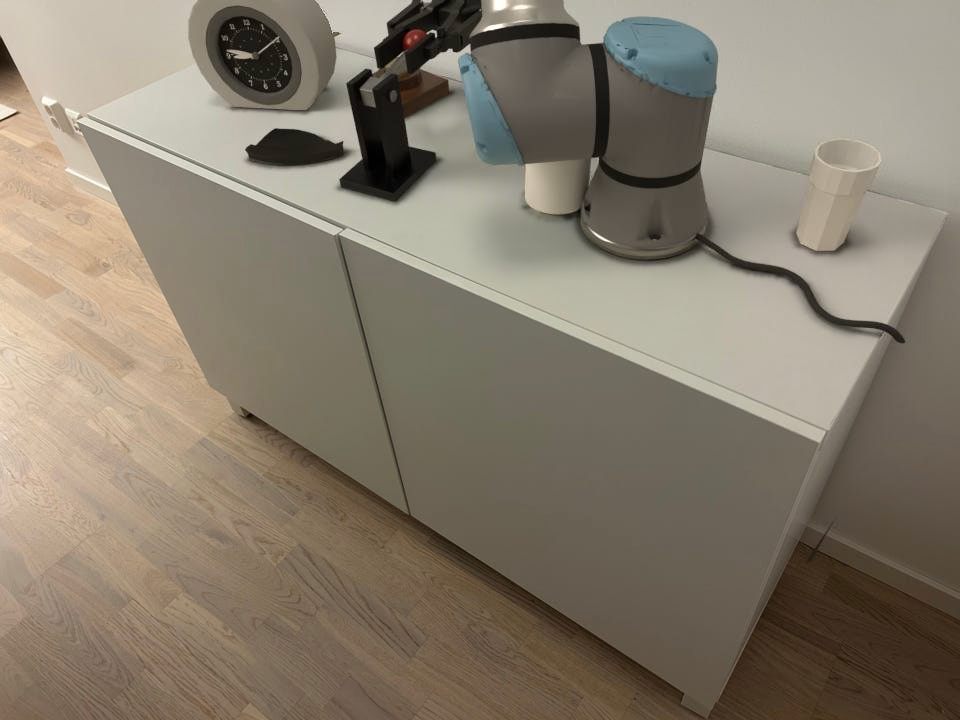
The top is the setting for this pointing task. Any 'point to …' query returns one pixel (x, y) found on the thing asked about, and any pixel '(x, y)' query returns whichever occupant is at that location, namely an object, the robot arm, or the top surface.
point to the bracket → (383, 142)
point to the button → (403, 72)
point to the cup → (835, 191)
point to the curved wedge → (293, 148)
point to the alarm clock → (263, 51)
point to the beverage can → (557, 185)
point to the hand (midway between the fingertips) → (393, 60)
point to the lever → (391, 67)
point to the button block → (419, 89)
